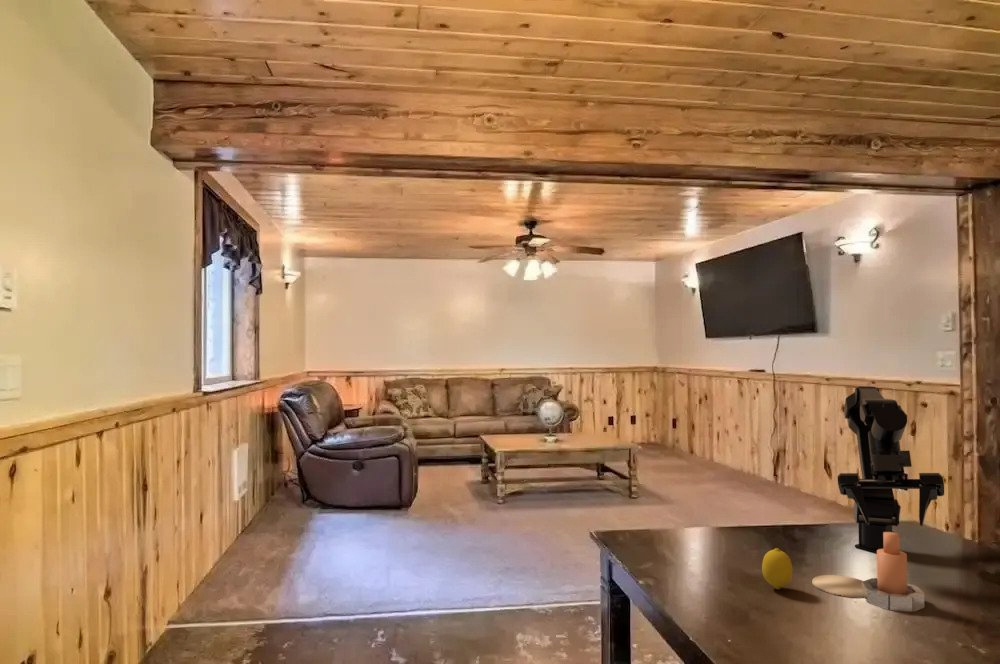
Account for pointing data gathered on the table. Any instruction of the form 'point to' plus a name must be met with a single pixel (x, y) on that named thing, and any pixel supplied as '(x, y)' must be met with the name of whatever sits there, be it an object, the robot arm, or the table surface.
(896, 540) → the pin
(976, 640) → the table surface
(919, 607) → the ring
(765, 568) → the lemon
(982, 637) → the table surface
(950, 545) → the table surface
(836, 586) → the coaster
